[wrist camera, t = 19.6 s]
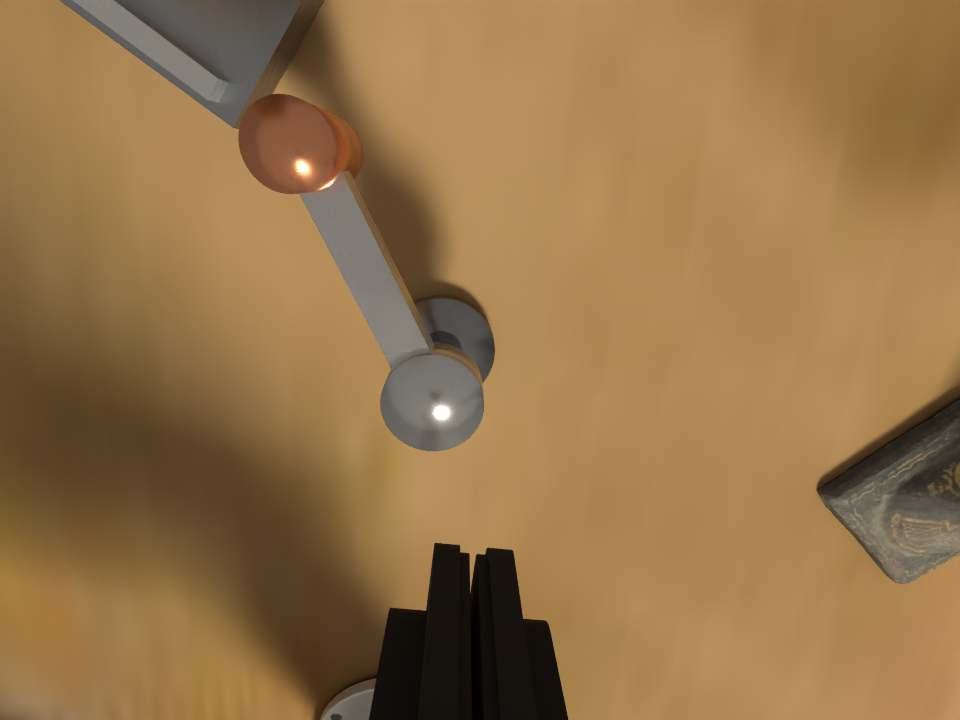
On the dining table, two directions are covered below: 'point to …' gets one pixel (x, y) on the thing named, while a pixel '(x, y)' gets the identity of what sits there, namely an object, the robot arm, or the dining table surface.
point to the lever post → (459, 328)
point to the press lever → (365, 268)
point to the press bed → (208, 43)
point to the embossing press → (905, 499)
